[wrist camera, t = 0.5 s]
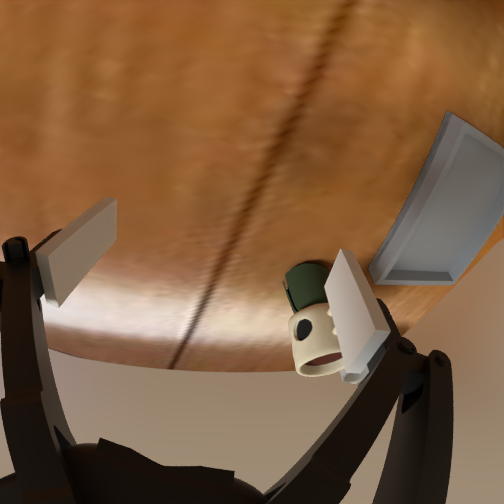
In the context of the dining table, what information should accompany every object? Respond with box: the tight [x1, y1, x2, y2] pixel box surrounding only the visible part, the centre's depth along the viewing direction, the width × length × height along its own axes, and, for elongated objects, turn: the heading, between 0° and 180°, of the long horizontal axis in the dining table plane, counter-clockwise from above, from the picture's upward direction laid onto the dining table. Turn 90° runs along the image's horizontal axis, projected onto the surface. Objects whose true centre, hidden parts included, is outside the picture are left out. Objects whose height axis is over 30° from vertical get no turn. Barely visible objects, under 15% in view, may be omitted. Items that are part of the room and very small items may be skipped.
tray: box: [368, 111, 504, 285], centre depth 30 cm, size 24×18×3 cm
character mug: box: [283, 264, 345, 377], centre depth 33 cm, size 11×7×13 cm, turn 170°
